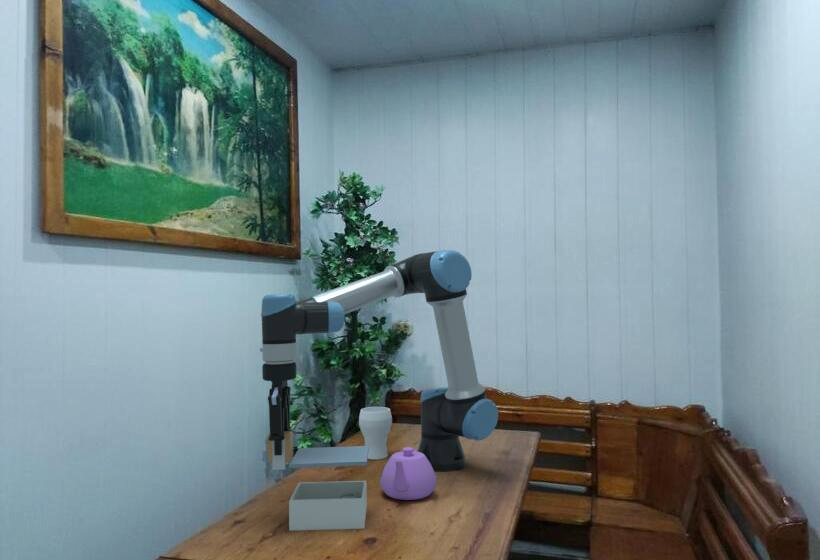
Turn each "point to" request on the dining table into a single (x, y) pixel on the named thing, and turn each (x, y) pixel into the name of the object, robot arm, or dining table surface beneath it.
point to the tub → (328, 506)
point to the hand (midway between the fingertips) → (280, 466)
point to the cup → (375, 430)
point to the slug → (348, 496)
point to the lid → (321, 455)
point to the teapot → (408, 475)
